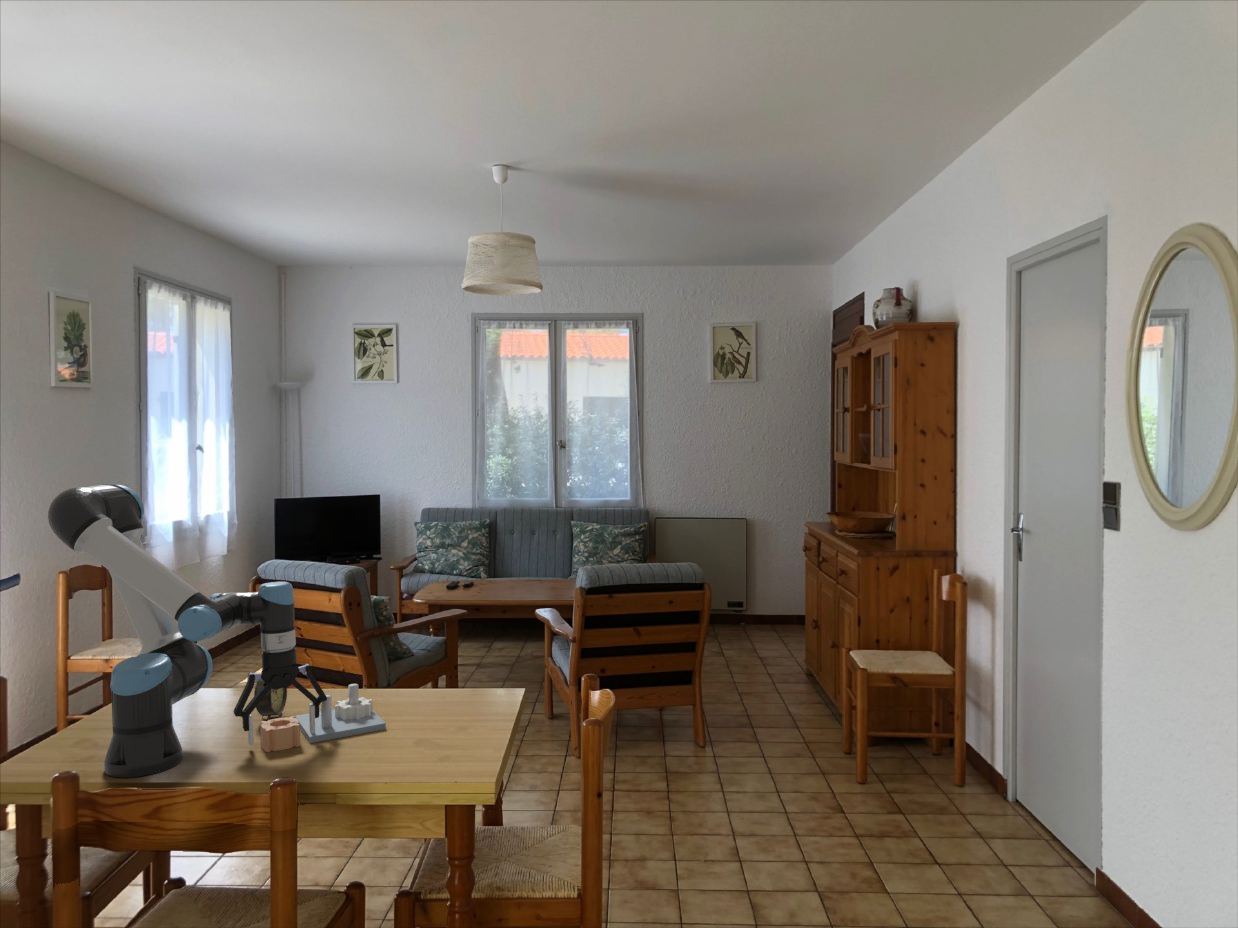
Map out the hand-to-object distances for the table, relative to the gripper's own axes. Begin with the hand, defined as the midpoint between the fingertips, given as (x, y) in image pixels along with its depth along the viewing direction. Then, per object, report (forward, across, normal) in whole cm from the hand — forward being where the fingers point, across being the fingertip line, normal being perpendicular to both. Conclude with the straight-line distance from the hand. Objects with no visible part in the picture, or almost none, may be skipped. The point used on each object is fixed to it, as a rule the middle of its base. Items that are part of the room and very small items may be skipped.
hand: (282, 738), depth 202 cm
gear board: (+2, +14, +6) cm, 16 cm away
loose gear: (+1, 0, 0) cm, 2 cm away
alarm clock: (+1, +1, +21) cm, 21 cm away
